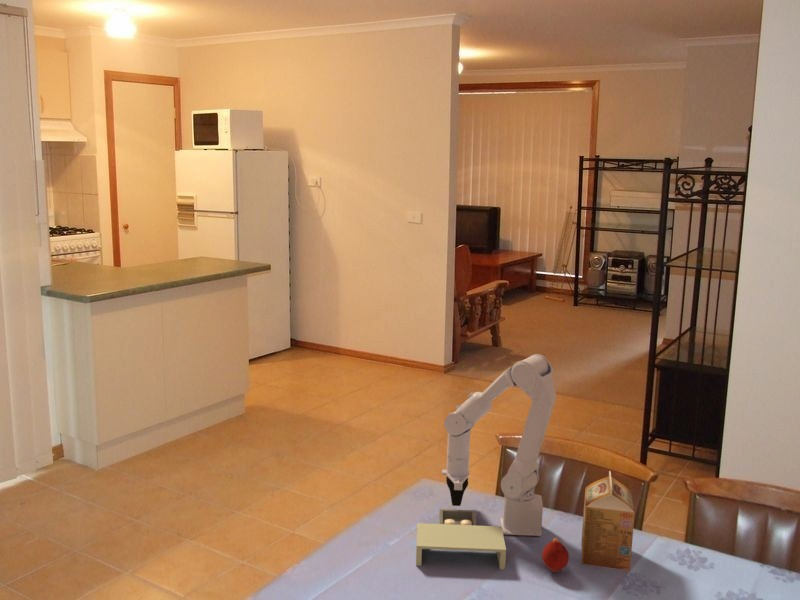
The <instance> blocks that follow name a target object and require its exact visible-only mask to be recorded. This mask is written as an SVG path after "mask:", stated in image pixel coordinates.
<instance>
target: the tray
mask: <svg viewBox="0 0 800 600" xmlns="http://www.w3.org/2000/svg"><path fill="white" fill-rule="evenodd" d="M438 517H439V518H438V520H439V521H438V524H451V525H476V526H477V518H476V510H472V509H471V510H470V509H468V510H467V509H448V508H446V509H445V508H439V515H438Z"/></svg>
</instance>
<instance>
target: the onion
mask: <svg viewBox="0 0 800 600" xmlns="http://www.w3.org/2000/svg"><path fill="white" fill-rule="evenodd" d="M541 559H542V562H543V564H544V565H545V566H546V567H547V569H549V570H550V571H551V572H552V573H556V572H557V573H558V572H560V571H561V570H563V569H565V568H566V567H567V566H568V562H569V559H570V554H569V550H568V549H567V547H566V546H565V545H564V544H563V543H562V542H560V541H559V539H558V538H556V537H553V541H550V542H548V543H547V544H546V545H545V546H544V547H543V551H542V554H541Z"/></svg>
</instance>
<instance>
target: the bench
mask: <svg viewBox="0 0 800 600" xmlns="http://www.w3.org/2000/svg"><path fill="white" fill-rule="evenodd" d="M416 528H417V529H416V552H415V553H416V555H415V557H416V558H415V566H417V567H422V558H423V557H422V555H423V554H422V553H423V552H422V551H423V550H444V551H446V550H447V551H448V550H449V551H450V550H451V551H468V552H470V551H471V552H473V551H474V552H490V553H491V552H493V553H494V552H495V553H496V555H497V561H498V566H499V570H506V559H507V547H506V543H505V538H504V534H503V531H502V527H501V525H500V526H499V525H496V526H495V525H477V524H476V525H451V524H439V523H426V522H424V523H423V522H418V523H417V524H416Z"/></svg>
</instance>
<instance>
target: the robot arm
mask: <svg viewBox="0 0 800 600" xmlns="http://www.w3.org/2000/svg"><path fill="white" fill-rule="evenodd" d="M553 373H554V368H553V366H552V365H551V363H550V361H548V359H547V357H545V356H544V355H543V354H539V353H536V354H535V353H534V354H531V355H530V356H528V357H527V358H525V359H522V360H519V361H517V362H515V363H514V364H513V365H511V366H510V367H508V368H506V369H505V370H504V371H503V372H502V373H501V374H499V376H498V377H496V378H495V379H494V381H492V383H490V385H489V386H487V388H486V389H484V390H483V391H482V392H481V391H475V392H470V393H469V394H468V395H467V399H466V400H465V401H464V402H462V404H458V405H457V406H456V407H455V409H456V410H455V411H453V412H449V413H448V414H447V416H446V417H445V419H444V420H443V421H444V423H443V425H444V428H445V431H446V432H447V445H446V446H447V448H446V449H447V450H446V451H447V452H446V469H442V470H441V474H442V476H446V477H445V479H446V486H447V487H448V489H449V494H450V500H451V505H452V507H453V506H455V507H456V506H457V507H460V506H461V505H462V502H463V497H464V494H465V491H466V489H467V488H468V486H469V477H470V470H469V469H470V467H469V466H470V447H471V445H470V444H471V430H472V429H473V428H474V427H475V424H476V423H477V422H478V421H479V420H480V419H482V418H483V417H484V416H485V415H486V414H488V413H489V412H490V411H491V410H492V402H493V401H495V399H497V398H498V397H499V396H500V395H501V394H503V393H504V392H506V390H508V389H509V388H510V387H516V386H518V387H519V388H520V389H521V390H522V391H523V393H525V394H526V395H527V396H528V397H529V399H530V400H531V404H530V407H529V411H528V413H527V417H526V421H525V424H524V428H523V430H522V431H523V432H522V435H521V438H520V441H519V445H518V448H517V450H516V451H517V452H516V454H515V458H514V459H513V462H512V463H511V464H510V466H509V468H508V470H507V473H506V474H505V475H504V476H503V477H502V479H501V480H500V488H501V491H502V493H503V495H504V497H503V499H504V500H503V514H502V515H503V516H502V517H501V518H500V519H499V521H500V526H501V527H502V531H503V536H504V535H507V536H510V535H511V536H530V537H531V536H532V537H534V536H535V537H542V535H543V534H542V525H543V513H544V511H543V508H544V507H543V506H544V505H543V504H544V503H543V499H542V498H543V497H542V495H540V494H536V493H535V492H534V490H535V488H534V487H535V486H537V484H538V482H539V479H540V478H539V467H540V464H539V463H538V459H539V456H540V452H541V449H542V446H543V442H544V439H545V437H546V432H547V429H548V426H549V423H550V419H551V417H552V414H553V410H554V407H555V403H556V400H557V394H556V389H555V388H556V387H555V383H554V377H553V375H554V374H553Z"/></svg>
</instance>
